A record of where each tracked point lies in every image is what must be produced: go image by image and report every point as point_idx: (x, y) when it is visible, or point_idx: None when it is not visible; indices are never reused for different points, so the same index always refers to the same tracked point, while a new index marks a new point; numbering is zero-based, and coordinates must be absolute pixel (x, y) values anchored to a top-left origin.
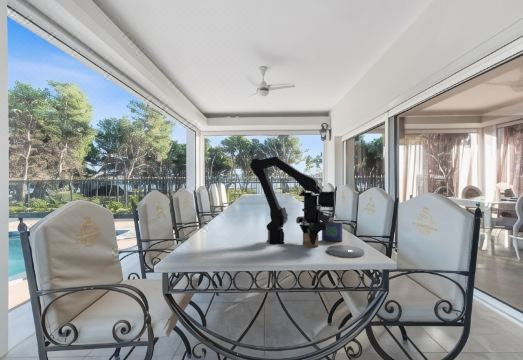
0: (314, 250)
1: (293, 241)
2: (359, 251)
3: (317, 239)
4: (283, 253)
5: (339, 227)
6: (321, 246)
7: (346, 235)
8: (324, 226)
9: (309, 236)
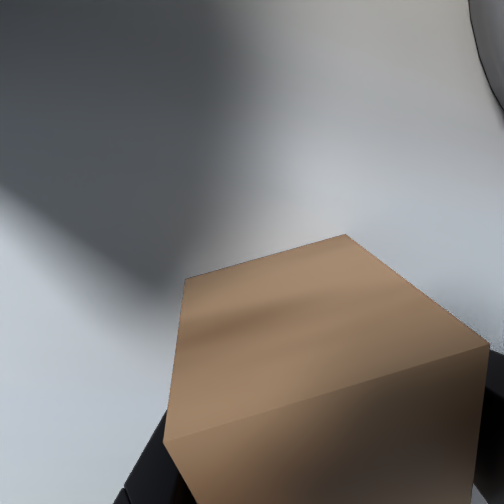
0: (481, 299)
1: (83, 476)
2: None
3: (408, 299)
4: (472, 496)
5: None
6: (338, 187)
7: None
8: None
9: (480, 480)
